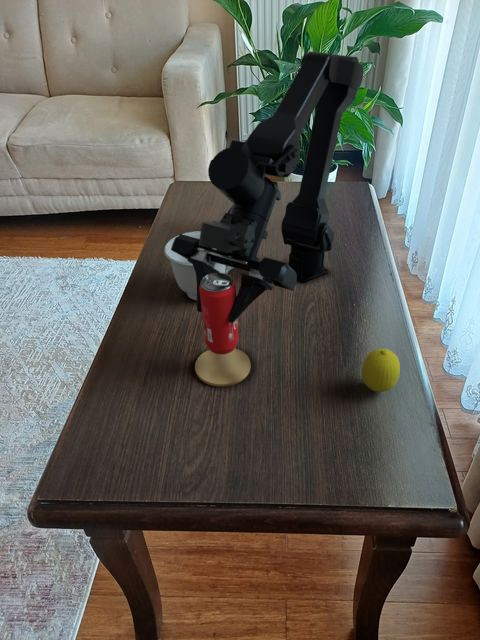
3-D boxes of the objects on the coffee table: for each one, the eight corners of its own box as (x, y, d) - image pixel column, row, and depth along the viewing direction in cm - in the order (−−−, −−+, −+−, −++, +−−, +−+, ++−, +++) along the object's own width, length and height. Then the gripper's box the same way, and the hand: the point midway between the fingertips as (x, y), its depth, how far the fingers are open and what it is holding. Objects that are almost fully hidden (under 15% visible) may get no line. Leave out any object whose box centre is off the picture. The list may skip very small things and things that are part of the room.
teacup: (251, 305, 98) (250, 259, 91) (171, 314, 96) (164, 267, 89) (243, 271, 107) (241, 227, 100) (169, 278, 105) (163, 233, 98)
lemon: (395, 404, 78) (404, 365, 73) (357, 399, 79) (364, 360, 74) (395, 379, 82) (404, 341, 77) (360, 375, 83) (366, 336, 78)
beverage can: (211, 332, 84) (205, 269, 76) (242, 337, 83) (239, 273, 76) (201, 353, 81) (193, 289, 73) (233, 358, 80) (229, 294, 72)
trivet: (231, 342, 90) (231, 339, 89) (261, 372, 84) (261, 369, 84) (185, 362, 86) (185, 359, 85) (213, 395, 80) (212, 392, 80)
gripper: (169, 182, 73) (133, 288, 73) (290, 210, 66) (249, 327, 66) (205, 210, 83) (173, 303, 83) (312, 237, 76) (277, 338, 76)
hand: (214, 317), depth 77 cm, fingers closed on beverage can, 5 cm apart
